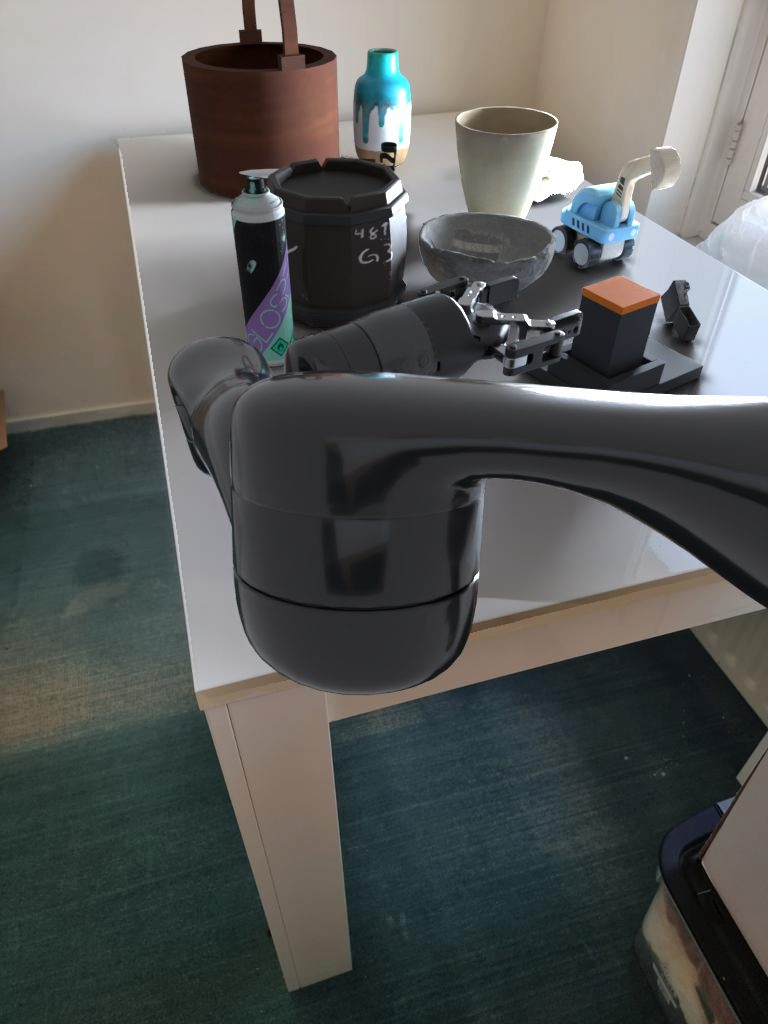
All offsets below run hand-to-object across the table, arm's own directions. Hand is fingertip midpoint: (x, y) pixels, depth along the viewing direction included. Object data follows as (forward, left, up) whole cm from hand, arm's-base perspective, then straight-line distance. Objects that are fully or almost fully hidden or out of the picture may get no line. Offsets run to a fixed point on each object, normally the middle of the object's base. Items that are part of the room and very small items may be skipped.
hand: (546, 303), depth 69 cm
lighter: (-13, -27, -13) cm, 33 cm away
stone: (+15, -75, -13) cm, 77 cm away
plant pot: (+17, -51, -13) cm, 55 cm away
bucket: (+62, -59, -13) cm, 87 cm away
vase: (+45, -72, -13) cm, 86 cm away
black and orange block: (-6, -9, -11) cm, 16 cm away
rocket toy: (+41, -37, -13) cm, 57 cm away
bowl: (+13, -29, -13) cm, 34 cm away
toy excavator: (-1, -43, -13) cm, 45 cm away
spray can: (+31, -1, -13) cm, 34 cm away
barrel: (+30, -17, -13) cm, 37 cm away
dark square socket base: (-7, -13, -13) cm, 19 cm away
